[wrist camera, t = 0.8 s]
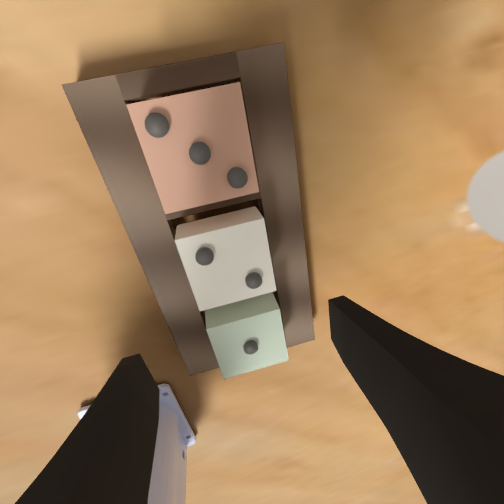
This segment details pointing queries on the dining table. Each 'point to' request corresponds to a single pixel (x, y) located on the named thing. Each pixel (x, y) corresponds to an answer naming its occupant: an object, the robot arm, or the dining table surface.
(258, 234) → the tile two
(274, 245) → the dice tray
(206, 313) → the tile one
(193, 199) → the tile three
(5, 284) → the dining table surface
